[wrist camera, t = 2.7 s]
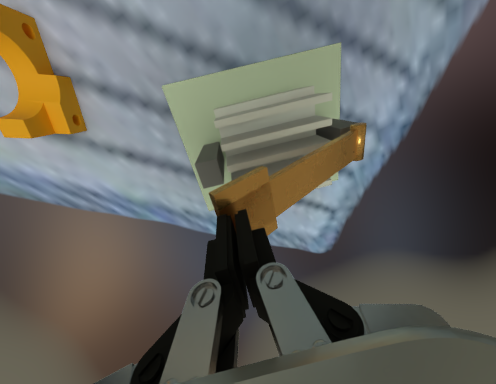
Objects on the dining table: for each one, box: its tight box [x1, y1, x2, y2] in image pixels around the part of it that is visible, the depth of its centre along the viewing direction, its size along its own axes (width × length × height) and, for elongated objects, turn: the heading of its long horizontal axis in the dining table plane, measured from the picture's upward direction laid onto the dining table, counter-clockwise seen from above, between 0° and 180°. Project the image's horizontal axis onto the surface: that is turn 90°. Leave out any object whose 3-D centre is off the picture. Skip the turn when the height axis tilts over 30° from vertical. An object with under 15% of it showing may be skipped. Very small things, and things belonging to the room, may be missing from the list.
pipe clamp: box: [0, 4, 87, 138], centre depth 20 cm, size 12×4×6 cm, turn 177°
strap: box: [209, 123, 366, 236], centre depth 15 cm, size 18×5×1 cm
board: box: [162, 43, 356, 211], centre depth 25 cm, size 24×20×10 cm
